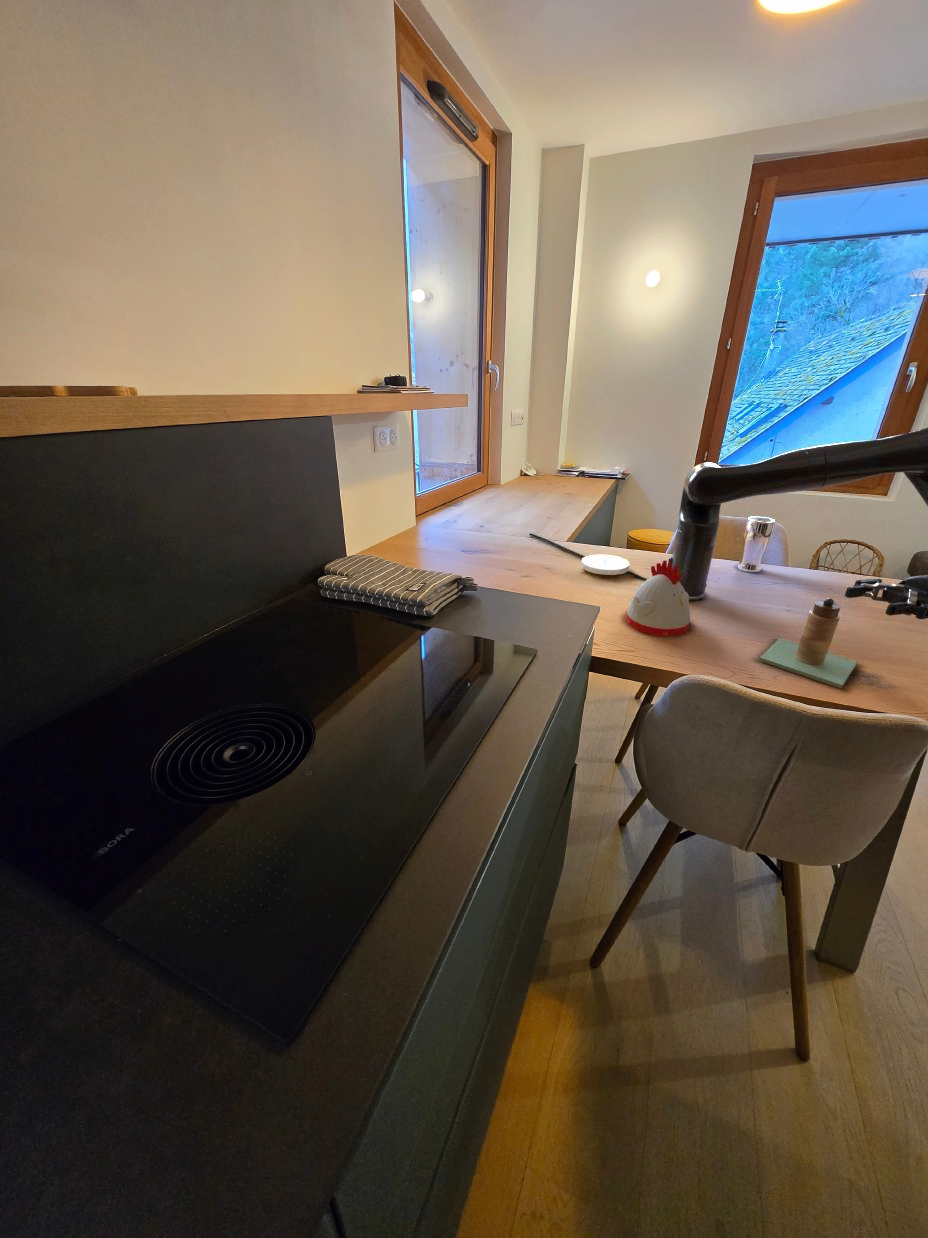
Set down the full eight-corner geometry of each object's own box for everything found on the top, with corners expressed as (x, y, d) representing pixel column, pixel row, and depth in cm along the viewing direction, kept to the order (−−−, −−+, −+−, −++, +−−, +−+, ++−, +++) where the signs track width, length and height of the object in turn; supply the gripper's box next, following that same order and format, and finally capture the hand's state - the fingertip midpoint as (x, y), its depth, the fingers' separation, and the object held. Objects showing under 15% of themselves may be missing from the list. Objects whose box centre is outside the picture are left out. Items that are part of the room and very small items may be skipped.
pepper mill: (791, 659, 98) (811, 598, 93) (799, 650, 101) (818, 591, 96) (819, 668, 95) (842, 605, 89) (826, 659, 98) (848, 598, 92)
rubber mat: (758, 660, 100) (759, 657, 99) (778, 640, 107) (779, 637, 107) (841, 688, 90) (842, 685, 90) (856, 664, 98) (857, 661, 97)
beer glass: (731, 565, 150) (742, 516, 143) (752, 564, 150) (765, 515, 144) (744, 573, 144) (757, 522, 137) (767, 572, 144) (781, 522, 138)
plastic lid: (579, 561, 155) (579, 553, 154) (624, 562, 153) (625, 555, 152) (582, 577, 142) (583, 568, 141) (632, 579, 141) (633, 570, 140)
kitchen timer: (658, 640, 108) (669, 576, 101) (613, 616, 119) (621, 557, 112) (701, 627, 113) (715, 565, 107) (655, 605, 124) (665, 548, 118)
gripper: (903, 564, 104) (840, 570, 101) (980, 589, 92) (911, 597, 89) (889, 596, 108) (829, 603, 104) (962, 624, 95) (896, 634, 92)
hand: (867, 601), depth 97 cm, fingers open, 8 cm apart
